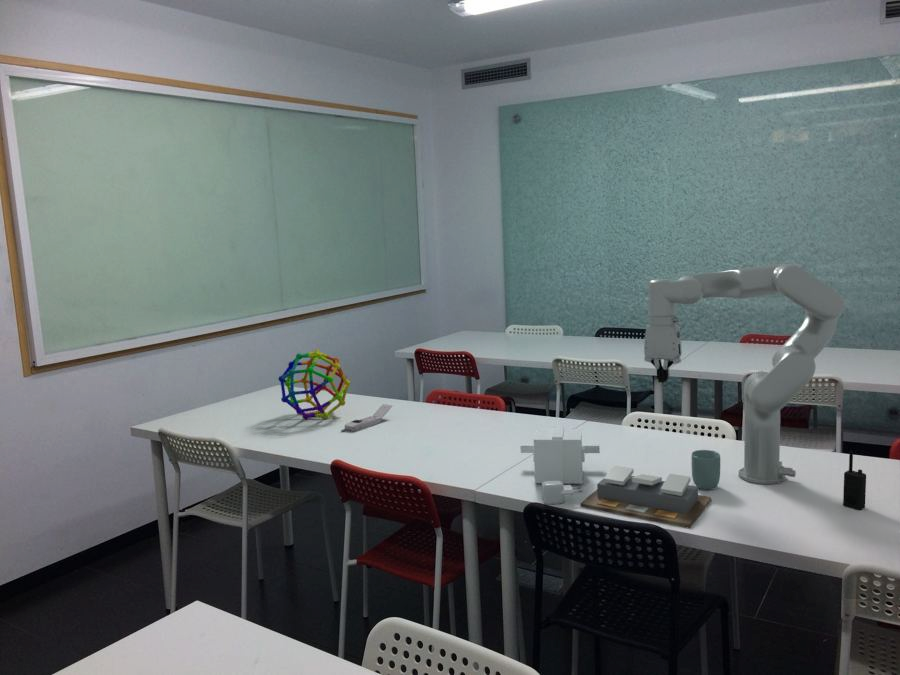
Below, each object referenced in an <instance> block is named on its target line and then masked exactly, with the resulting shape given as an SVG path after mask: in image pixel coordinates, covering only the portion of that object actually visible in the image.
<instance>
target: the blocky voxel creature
mask: <svg viewBox="0 0 900 675" xmlns="http://www.w3.org/2000/svg"><path fill="white" fill-rule="evenodd" d="M582 438H583V434H582V429H572V428H571V429H565V427H564V426H556V427H555V426H554V427H553V429H536V431H535V434H534V438H533V443H521V444H520V454H525V453H526V454H533V456H532V457H533V462H534V484H542V482H544V481H561V482H562V484H563V485H565V484H583V474H584V473H583V472H584V470H583V463H585V460H586V459H585V458H586V457H585V456H586V455H585V454H601V453H600V448H601V447H600V444H599V443H583V440H582Z"/></svg>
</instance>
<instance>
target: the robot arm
mask: <svg viewBox="0 0 900 675" xmlns="http://www.w3.org/2000/svg"><path fill="white" fill-rule="evenodd" d="M776 295H783V296H785V297H786V298H787V299H789V300H790V301H791V302H793V303H795V304H796V305H797V306H798V307H801V308H802V309H803V310H804V311H805V312H804V313H805V314H804V319H803V321H802V323H801V325H800V326H799V328H798V329H797V330H796V331H795V332H794V333H793V334H792V335H791V337H789V338H788V339H787V340H786V341H785V343H784V344H783V345H781V347H780V348H778V349H777V350H776V351H775V353H774V354H773V356H772V359H771V364H772V366H773V367H772V368H771V369H770V370H769V372H768V371H762V370H761V371H759V370H758V371H756V372H753V373H751V374H750V375H748V377H747V378H746V379H745V382H744V384H743V403H744V450H743V451H744V453H743V456H744V457H743V458H744V459H743V460H744V461H743V466H744V467H741V468H740V469H739V470H738V476H739V477H740V479H742V480H744V481H745V482H746V481H747V482H749V483H754V484H758V485H759V484H760V485H774V484H779V483H781V482H784V481H785V479H786V477H791V478H795V477H796V476H797V475H796V473H797V471H796V470H795V469H793V467H785V466H784V465H783V461H780V457H781V456H780V448H781V447H780V446H781V444H780V443H781V441H780V440H781V439H780V438H781V410H782V409H783V408H784V407H786V406H787V404H789V403H790V402H791V400H793V399H794V398H795V397H796V396H797V395H798V394H799V393H800V392H801V391H802V390H803V389H804V388H805V387H806V385H808V383H809V382H810V381H811V380H812V379H813V378H814V374H815V372H816V361H815V359H816V358H817V357H818V355H819V354H821V352H822V351H823V350H824V349H825V348H826V347H827V346H828V345H829V343H830V342H831V340H832V339H833V337H834V336H835V332H836V329H837V326H838V318H839V317H841V315H843V313H844V311H845V308H846V302H845V299H844V297H843V295H842V294H841V293H840V292H839V291H837V290H836V289H834V288H832V287H831V286H829V285H828V284H826V283H825V282H823V281H822V280H820V279H819V278H818V277H816V276H814V275H812V274H811V273H809V272H808V271H807V270H806V269H804V268H802V267H801V266H799V265H796V264H793V263H789V262H788V263H776V264H770V265H769V264H767V265H761V266H754V267H743V268H736V269H729V270H723V271H714V272H704V273H698V274H697V273H696V274H689V275H684V276H682V277H680V278H679V279H678V280H673V279H671V278H656V279H655V278H654V279H652V280H649V282H648V324H647V325H646V328H645V329H646V330H645V334H644V341H643V342H644V343H643V344H644V345H643V347H644V348H643V355H644V359H643V360H644V361H645V362H647V363H651V364H652V366H654V368H655V370H656V379H657V383H663V384H664V383H666V382H667V380H669V369H670V367H671V366H672V365H677V364H680V363H682V360H681V356H682V353H683V352H682V340H681V339H682V337H681V332H680V331H681V330H680V327H679V325H678V324H677V323H680V322H681V317H678V316H677V315H676V304H680V305H694V304H697V303H699V302H700V301H701V300H703V299H708V298H709V299H710V298H730V299H737V300H738V299H740V300H741V299H752V298H757V297H765V296H776ZM662 360H663V363H662Z"/></svg>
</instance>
